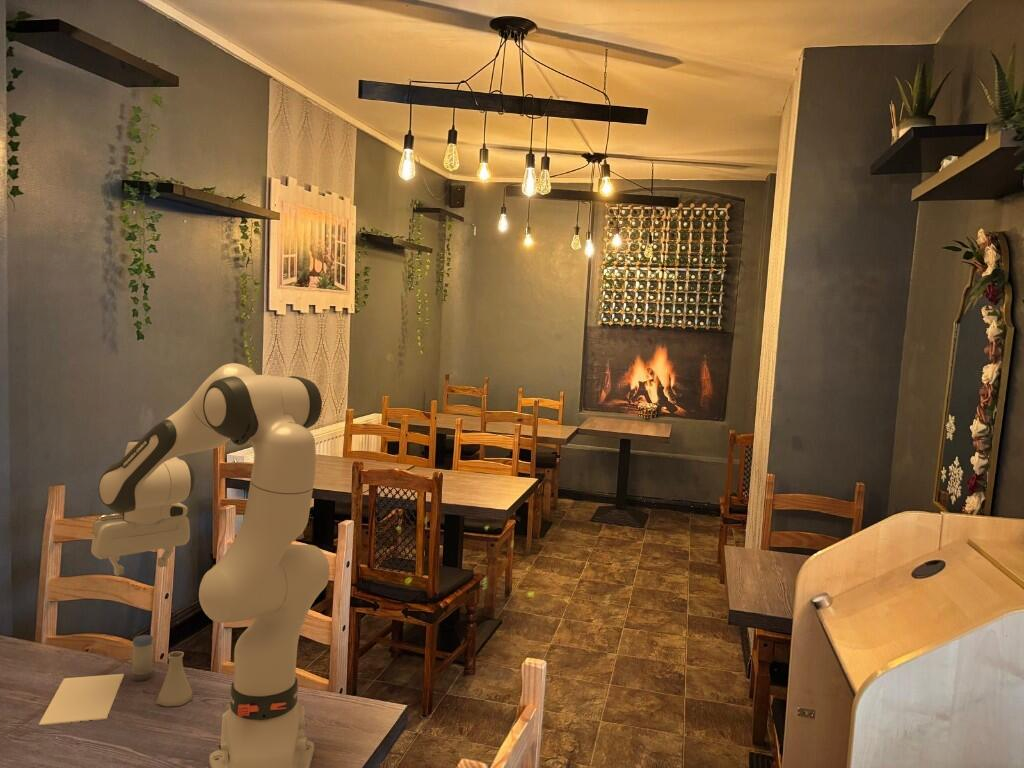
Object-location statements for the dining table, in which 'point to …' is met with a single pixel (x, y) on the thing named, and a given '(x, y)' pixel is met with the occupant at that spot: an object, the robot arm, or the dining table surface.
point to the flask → (175, 683)
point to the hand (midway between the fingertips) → (140, 570)
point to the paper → (83, 699)
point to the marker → (142, 658)
